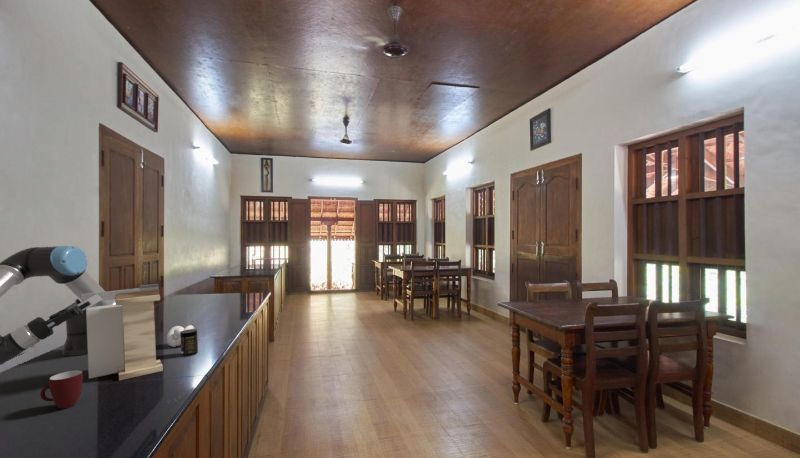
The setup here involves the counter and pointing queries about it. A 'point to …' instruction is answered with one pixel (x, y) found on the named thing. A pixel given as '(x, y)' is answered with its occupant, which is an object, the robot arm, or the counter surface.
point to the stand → (138, 333)
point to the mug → (64, 388)
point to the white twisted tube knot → (176, 335)
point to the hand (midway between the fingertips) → (100, 294)
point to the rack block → (104, 340)
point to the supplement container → (189, 342)
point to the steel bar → (119, 292)
